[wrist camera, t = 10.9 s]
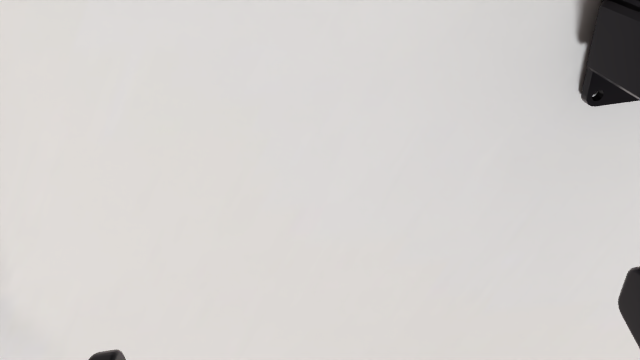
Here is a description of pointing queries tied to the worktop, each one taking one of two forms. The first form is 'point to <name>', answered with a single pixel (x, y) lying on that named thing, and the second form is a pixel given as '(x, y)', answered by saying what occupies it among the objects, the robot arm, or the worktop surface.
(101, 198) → the worktop surface
